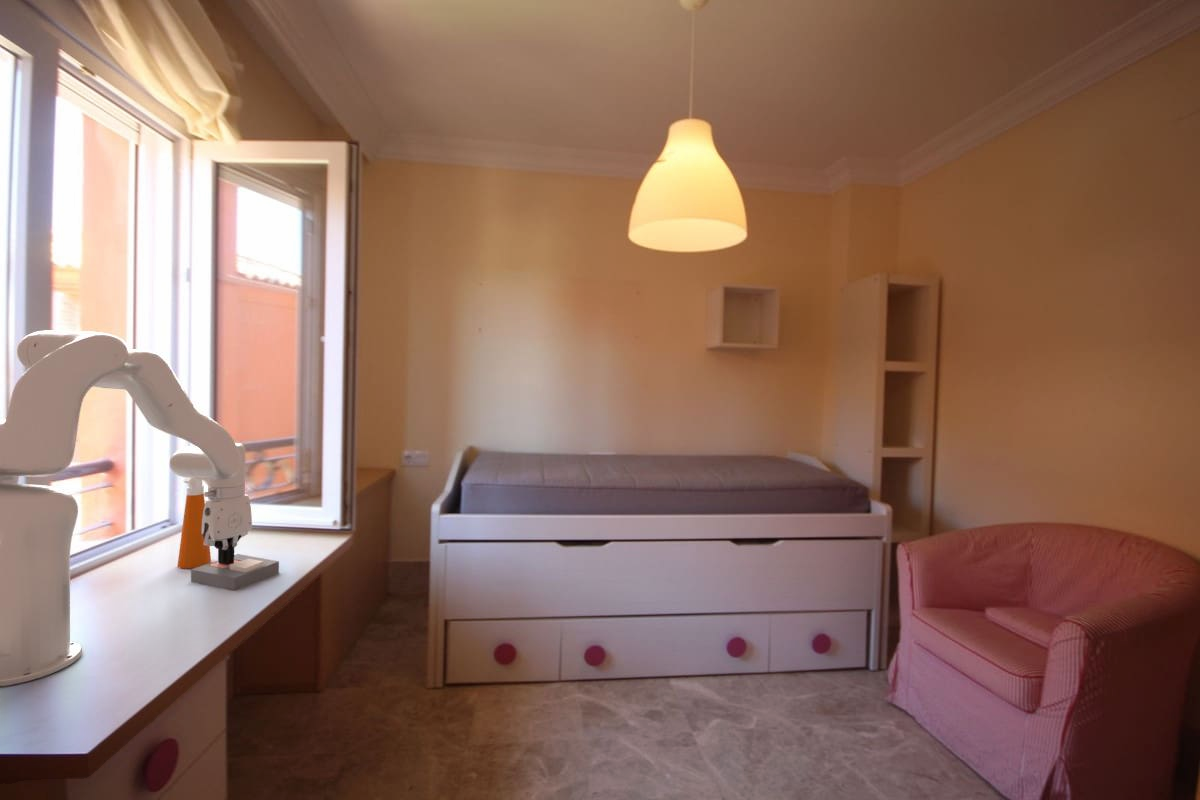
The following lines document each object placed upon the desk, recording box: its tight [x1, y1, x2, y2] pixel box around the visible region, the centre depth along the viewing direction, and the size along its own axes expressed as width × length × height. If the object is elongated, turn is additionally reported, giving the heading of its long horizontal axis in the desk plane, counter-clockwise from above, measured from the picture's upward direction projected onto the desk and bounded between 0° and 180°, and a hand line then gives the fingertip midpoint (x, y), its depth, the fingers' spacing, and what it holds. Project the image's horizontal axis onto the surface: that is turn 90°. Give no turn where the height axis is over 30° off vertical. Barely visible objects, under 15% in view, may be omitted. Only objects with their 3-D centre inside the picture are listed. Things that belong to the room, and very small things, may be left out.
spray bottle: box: [177, 477, 212, 570], centre depth 138 cm, size 7×11×26 cm, turn 2°
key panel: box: [190, 553, 280, 591], centre depth 129 cm, size 12×14×3 cm
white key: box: [230, 559, 264, 573], centre depth 128 cm, size 5×5×2 cm
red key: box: [209, 560, 240, 569], centre depth 130 cm, size 5×5×2 cm
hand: (226, 563), depth 131 cm, fingers closed
